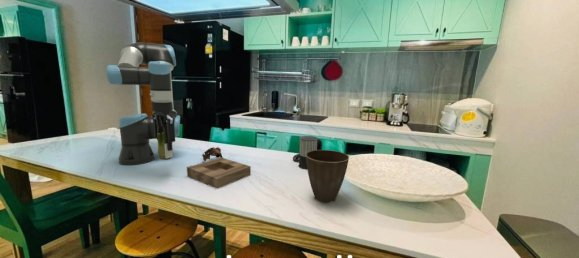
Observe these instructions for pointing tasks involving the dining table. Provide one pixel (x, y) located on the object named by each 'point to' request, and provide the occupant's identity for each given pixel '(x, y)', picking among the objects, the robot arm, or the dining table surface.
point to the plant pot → (326, 173)
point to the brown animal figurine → (212, 153)
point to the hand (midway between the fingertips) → (165, 156)
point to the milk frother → (307, 149)
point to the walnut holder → (218, 172)
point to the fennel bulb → (161, 146)
